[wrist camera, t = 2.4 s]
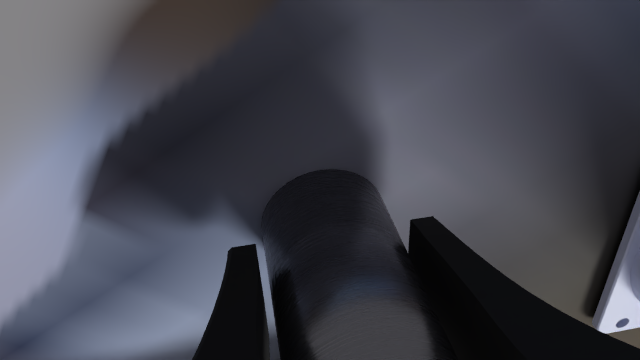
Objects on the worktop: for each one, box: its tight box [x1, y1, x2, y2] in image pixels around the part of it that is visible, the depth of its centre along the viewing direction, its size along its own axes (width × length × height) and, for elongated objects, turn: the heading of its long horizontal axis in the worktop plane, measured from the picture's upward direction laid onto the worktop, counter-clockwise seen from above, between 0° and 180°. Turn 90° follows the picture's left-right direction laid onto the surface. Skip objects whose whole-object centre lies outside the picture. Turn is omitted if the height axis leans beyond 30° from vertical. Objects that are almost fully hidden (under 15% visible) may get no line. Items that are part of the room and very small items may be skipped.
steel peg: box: [262, 170, 458, 360], centre depth 13 cm, size 4×4×7 cm
